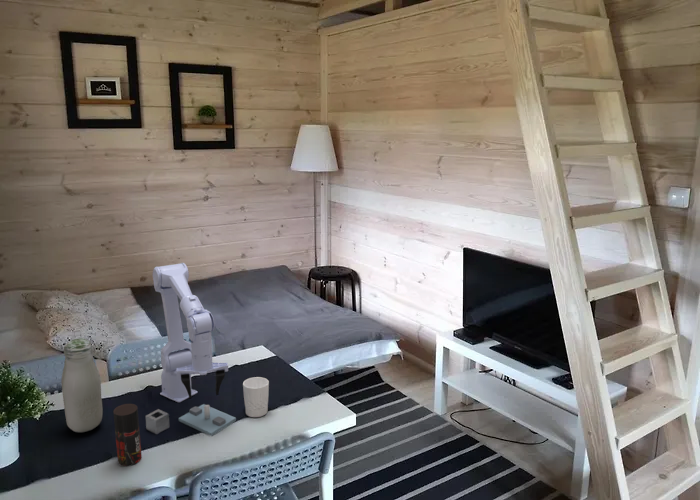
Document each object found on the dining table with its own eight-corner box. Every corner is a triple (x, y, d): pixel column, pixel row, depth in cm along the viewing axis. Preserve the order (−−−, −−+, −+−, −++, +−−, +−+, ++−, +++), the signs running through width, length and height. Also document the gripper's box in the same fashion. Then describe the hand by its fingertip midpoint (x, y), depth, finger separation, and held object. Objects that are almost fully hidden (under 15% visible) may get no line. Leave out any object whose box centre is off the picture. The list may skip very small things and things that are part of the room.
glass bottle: (75, 442, 155) (65, 351, 148) (61, 428, 162) (51, 339, 155) (110, 428, 162) (102, 340, 155) (95, 415, 169) (86, 330, 162)
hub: (146, 429, 162) (145, 415, 161) (159, 422, 166) (158, 409, 165) (156, 434, 160) (155, 420, 159) (169, 427, 164) (168, 413, 163)
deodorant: (122, 452, 151) (117, 403, 147) (144, 452, 152) (140, 403, 148) (114, 466, 145) (110, 415, 142) (138, 465, 146) (133, 415, 142)
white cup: (264, 419, 168) (263, 389, 166) (239, 416, 170) (238, 386, 167) (272, 407, 176) (272, 378, 174) (249, 404, 177) (248, 375, 175)
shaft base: (178, 421, 167) (177, 406, 166) (203, 406, 175) (203, 392, 174) (211, 436, 160) (210, 420, 158) (236, 420, 168) (235, 405, 167)
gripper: (175, 361, 154) (178, 405, 157) (228, 356, 158) (229, 398, 162) (175, 351, 161) (178, 393, 164) (226, 346, 165) (227, 387, 168)
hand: (203, 395), depth 163 cm, fingers open, 7 cm apart
